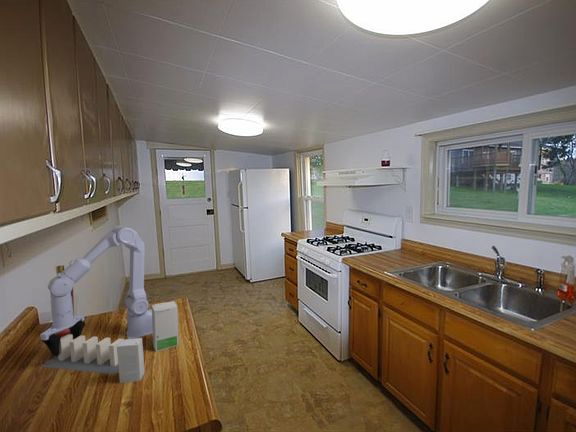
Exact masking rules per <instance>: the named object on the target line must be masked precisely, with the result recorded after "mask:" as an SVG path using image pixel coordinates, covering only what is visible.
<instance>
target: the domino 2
mask: <svg viewBox="0 0 576 432" xmlns="http://www.w3.org/2000/svg"><path fill="white" fill-rule="evenodd" d="M85 341H86V336H85V335H82V334H81V336H79V337H77V338H76V339H74V340H72V341H70V351H71V362H76V361H78V360H79V359H81V358H82V357H84V354H83V343H84V342H85Z"/></svg>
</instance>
